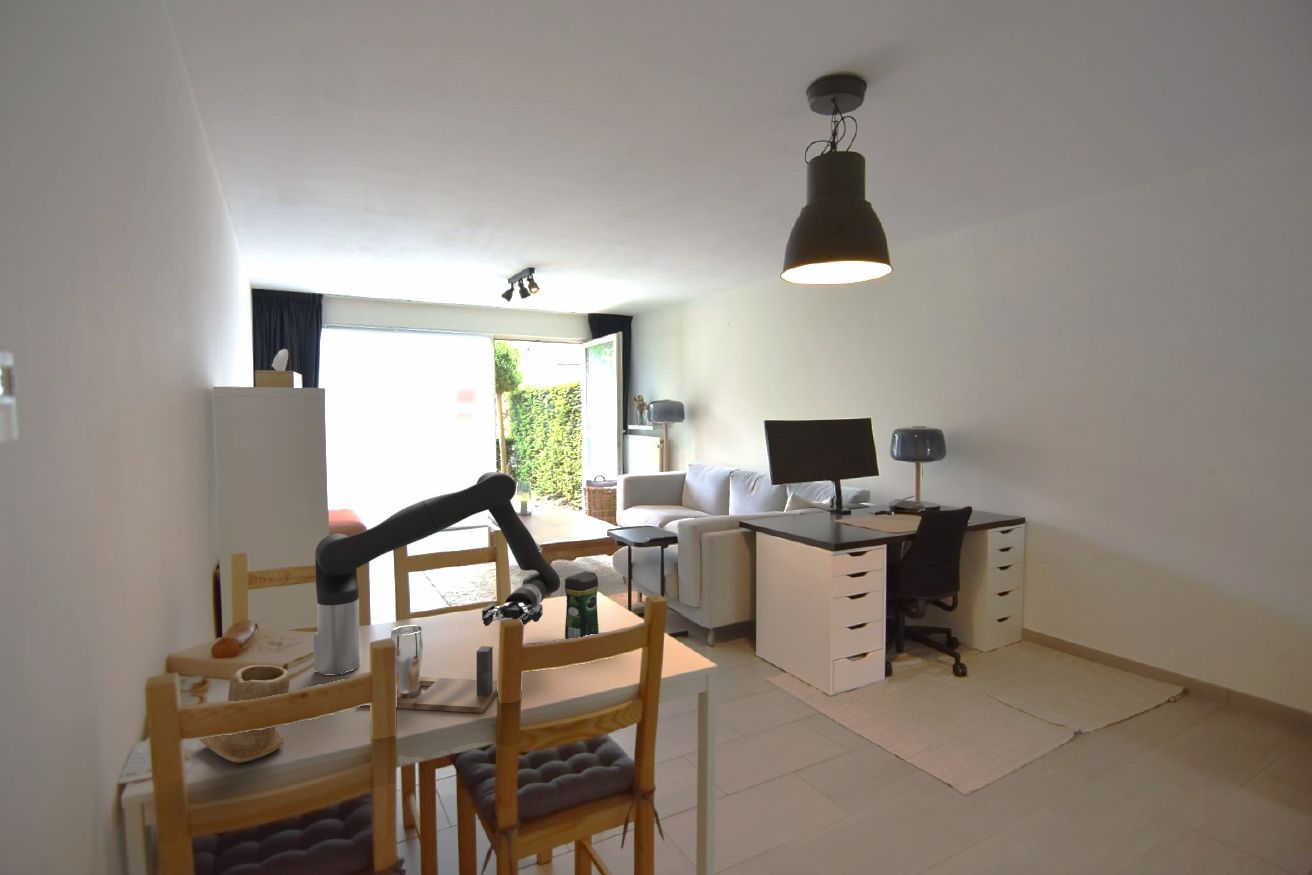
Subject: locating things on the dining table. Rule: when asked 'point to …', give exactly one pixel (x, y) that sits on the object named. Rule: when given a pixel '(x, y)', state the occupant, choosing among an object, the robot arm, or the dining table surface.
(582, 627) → the coffee jar
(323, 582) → the robot arm
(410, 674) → the beer glass
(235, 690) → the stone cup
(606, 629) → the dining table surface
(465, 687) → the board with upright block
